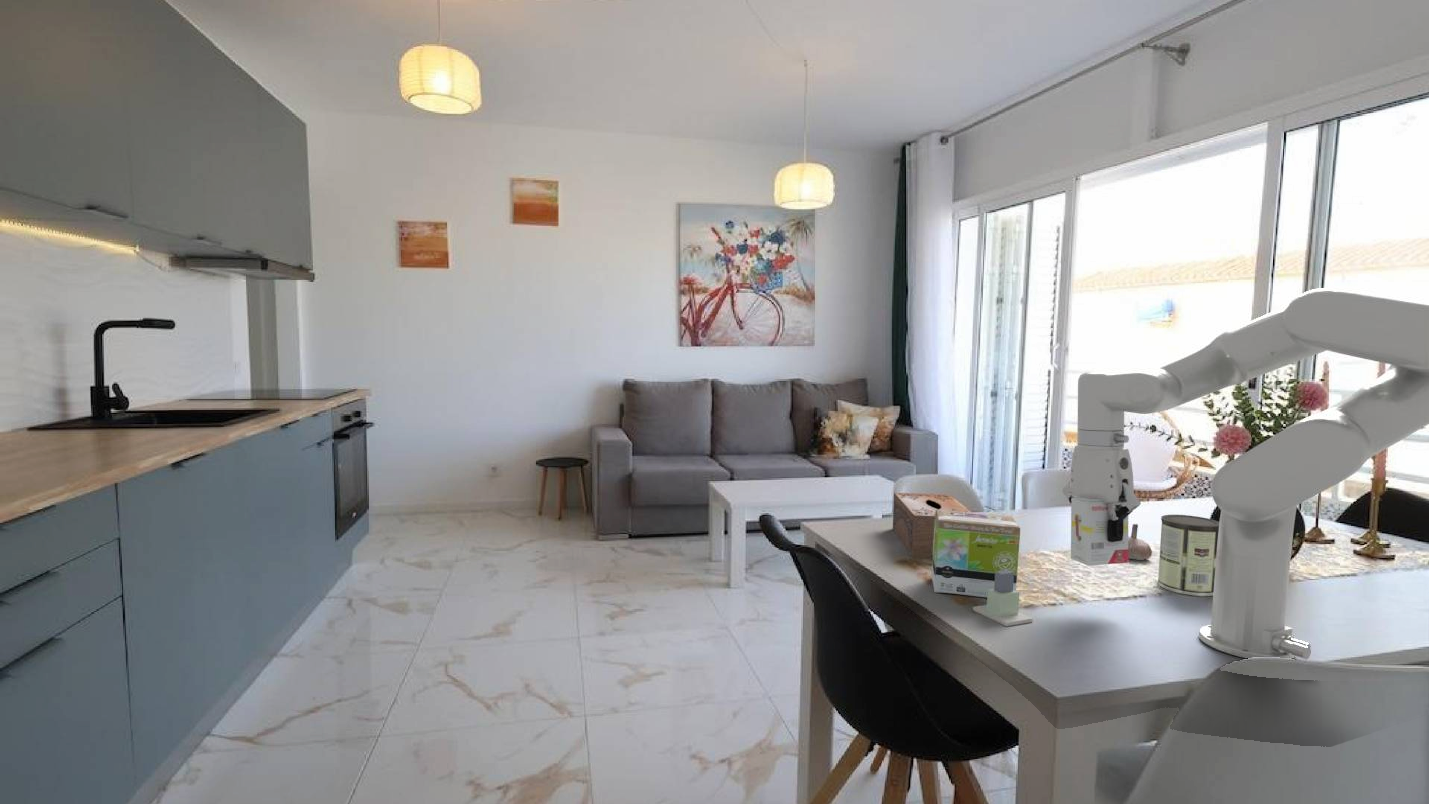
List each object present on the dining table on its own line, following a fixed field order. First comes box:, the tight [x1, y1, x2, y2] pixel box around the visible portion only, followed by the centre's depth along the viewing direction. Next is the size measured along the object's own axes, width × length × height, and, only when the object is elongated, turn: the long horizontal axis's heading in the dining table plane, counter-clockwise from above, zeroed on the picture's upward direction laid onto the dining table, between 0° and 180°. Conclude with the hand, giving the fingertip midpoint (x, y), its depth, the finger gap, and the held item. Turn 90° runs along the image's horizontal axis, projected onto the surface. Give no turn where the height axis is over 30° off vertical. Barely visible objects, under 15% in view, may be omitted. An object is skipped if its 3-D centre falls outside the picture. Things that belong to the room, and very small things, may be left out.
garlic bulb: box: [1128, 523, 1153, 561], centre depth 166 cm, size 8×7×8 cm
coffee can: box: [1157, 514, 1220, 597], centre depth 145 cm, size 10×10×14 cm
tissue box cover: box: [892, 492, 974, 559], centre depth 174 cm, size 26×14×10 cm, turn 176°
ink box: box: [1070, 497, 1129, 567], centre depth 131 cm, size 9×5×12 cm, turn 99°
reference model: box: [972, 570, 1034, 627], centre depth 127 cm, size 8×6×8 cm
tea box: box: [930, 510, 1021, 598], centre depth 141 cm, size 15×10×15 cm, turn 76°
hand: (1099, 536), depth 131 cm, fingers closed on ink box, 5 cm apart
